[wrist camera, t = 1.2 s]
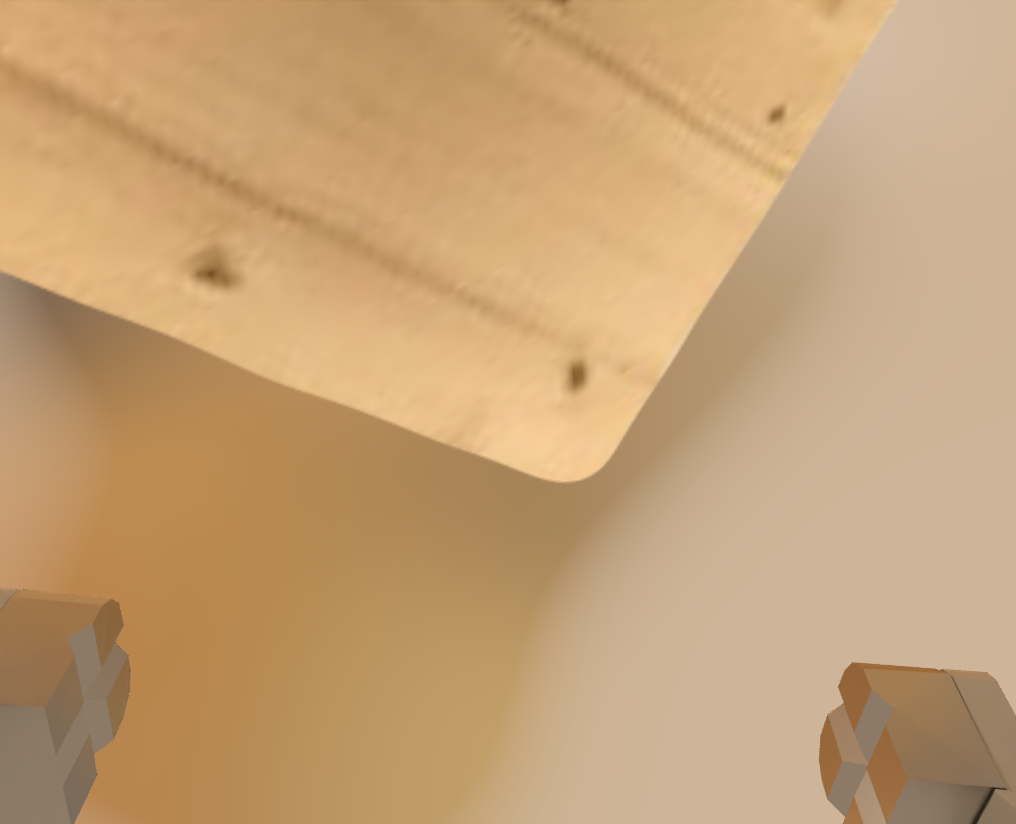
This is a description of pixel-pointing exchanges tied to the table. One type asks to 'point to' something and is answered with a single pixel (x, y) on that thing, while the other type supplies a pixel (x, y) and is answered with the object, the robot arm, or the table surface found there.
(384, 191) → the table surface
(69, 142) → the table surface
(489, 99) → the table surface
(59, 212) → the table surface
